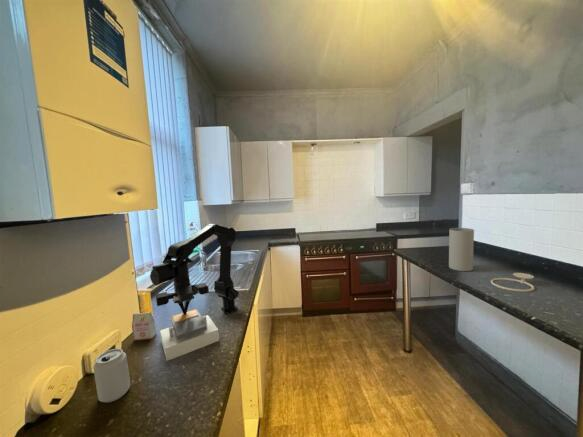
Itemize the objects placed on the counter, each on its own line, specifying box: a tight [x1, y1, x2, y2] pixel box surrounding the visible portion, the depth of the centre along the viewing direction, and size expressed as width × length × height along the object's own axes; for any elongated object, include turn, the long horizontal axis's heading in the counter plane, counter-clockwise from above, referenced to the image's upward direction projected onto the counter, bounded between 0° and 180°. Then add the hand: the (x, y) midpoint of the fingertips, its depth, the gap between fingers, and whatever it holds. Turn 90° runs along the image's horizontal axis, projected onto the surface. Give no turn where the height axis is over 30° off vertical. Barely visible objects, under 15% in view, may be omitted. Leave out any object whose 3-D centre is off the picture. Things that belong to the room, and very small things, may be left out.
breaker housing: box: [159, 314, 220, 362], centre depth 93 cm, size 14×18×8 cm
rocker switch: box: [170, 308, 207, 340], centre depth 93 cm, size 14×10×2 cm
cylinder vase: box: [448, 227, 475, 272], centre depth 153 cm, size 12×12×25 cm
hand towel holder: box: [490, 272, 535, 293], centre depth 127 cm, size 17×4×21 cm
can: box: [92, 348, 131, 403], centre depth 69 cm, size 8×8×12 cm
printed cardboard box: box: [131, 312, 157, 341], centre depth 98 cm, size 4×7×10 cm, turn 94°
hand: (184, 314), depth 97 cm, fingers closed, pressing on rocker switch
